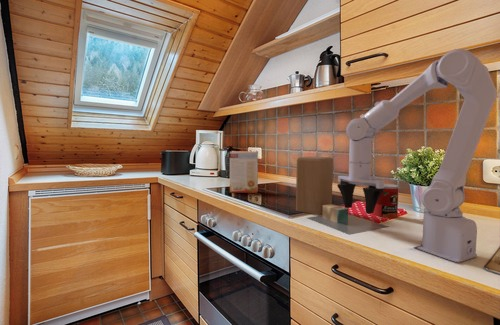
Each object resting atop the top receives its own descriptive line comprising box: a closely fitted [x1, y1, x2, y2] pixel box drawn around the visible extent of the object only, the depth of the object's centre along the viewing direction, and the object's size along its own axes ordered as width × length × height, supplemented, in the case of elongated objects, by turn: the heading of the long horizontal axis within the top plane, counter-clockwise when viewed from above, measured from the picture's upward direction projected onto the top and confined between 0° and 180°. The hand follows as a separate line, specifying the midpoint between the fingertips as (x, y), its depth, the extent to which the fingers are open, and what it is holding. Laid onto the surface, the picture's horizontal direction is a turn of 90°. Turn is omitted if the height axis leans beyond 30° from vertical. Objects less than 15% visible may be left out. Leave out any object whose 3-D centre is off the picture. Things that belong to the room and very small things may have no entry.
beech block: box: [321, 203, 349, 223], centre depth 86 cm, size 4×4×7 cm
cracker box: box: [229, 150, 259, 194], centre depth 139 cm, size 14×6×21 cm, turn 84°
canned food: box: [371, 183, 399, 219], centre depth 92 cm, size 8×8×11 cm
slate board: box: [306, 213, 390, 235], centre depth 83 cm, size 18×16×1 cm
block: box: [295, 156, 334, 216], centre depth 97 cm, size 10×10×20 cm
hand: (358, 210), depth 77 cm, fingers open, 7 cm apart
